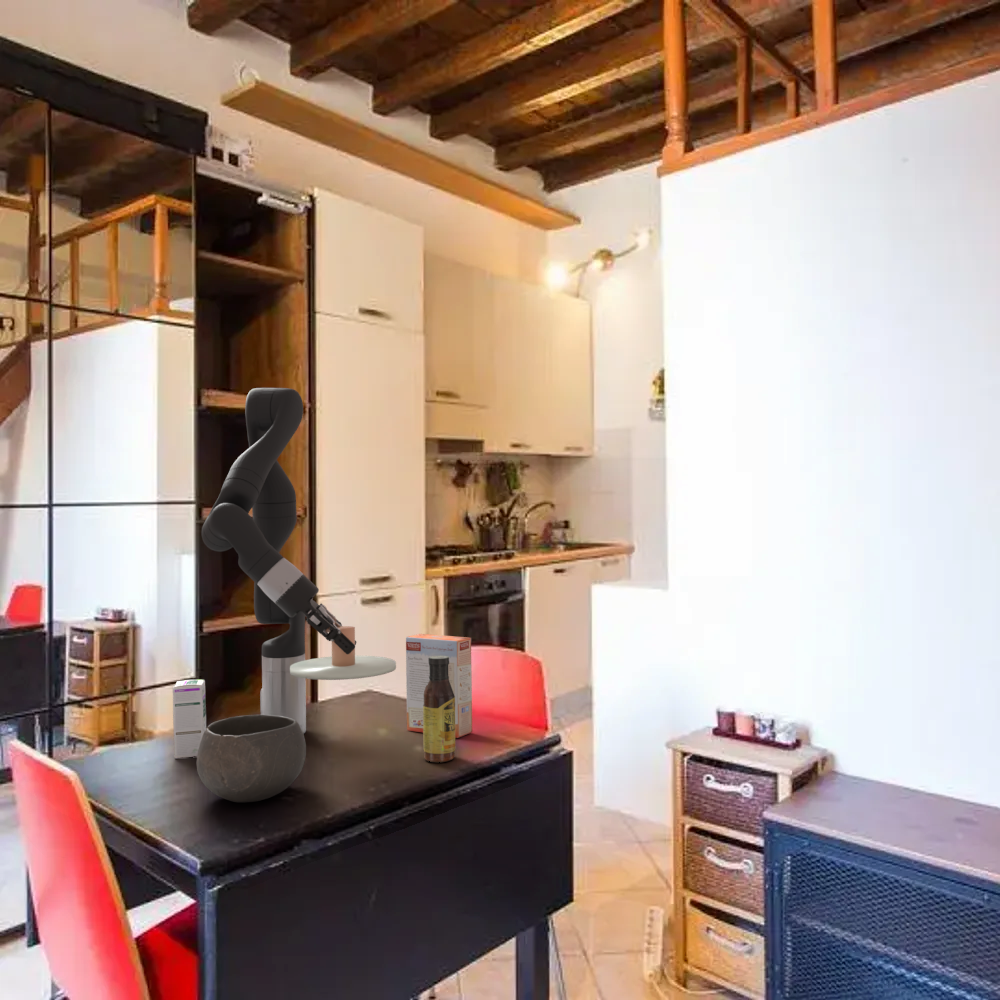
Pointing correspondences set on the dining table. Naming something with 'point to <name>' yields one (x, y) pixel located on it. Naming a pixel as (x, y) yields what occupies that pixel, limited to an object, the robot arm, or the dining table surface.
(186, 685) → the syrup box
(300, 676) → the lid
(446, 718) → the sauce bottle
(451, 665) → the cracker box
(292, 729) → the bowl
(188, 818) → the dining table surface
